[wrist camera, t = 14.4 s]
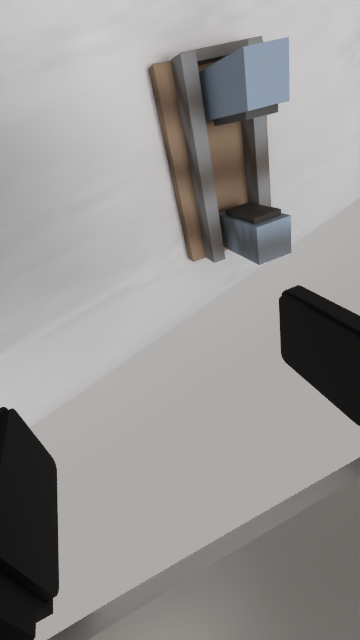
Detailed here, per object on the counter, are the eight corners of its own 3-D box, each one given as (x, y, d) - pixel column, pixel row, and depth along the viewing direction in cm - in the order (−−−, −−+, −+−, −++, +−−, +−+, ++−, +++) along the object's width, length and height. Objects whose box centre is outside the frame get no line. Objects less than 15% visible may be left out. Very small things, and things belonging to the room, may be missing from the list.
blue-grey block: (194, 74, 29) (243, 46, 22) (230, 66, 30) (288, 37, 23) (202, 128, 32) (248, 119, 24) (235, 120, 33) (289, 109, 25)
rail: (148, 68, 29) (189, 30, 20) (254, 45, 31) (331, 2, 23) (188, 258, 40) (227, 286, 31) (265, 230, 42) (321, 249, 34)
